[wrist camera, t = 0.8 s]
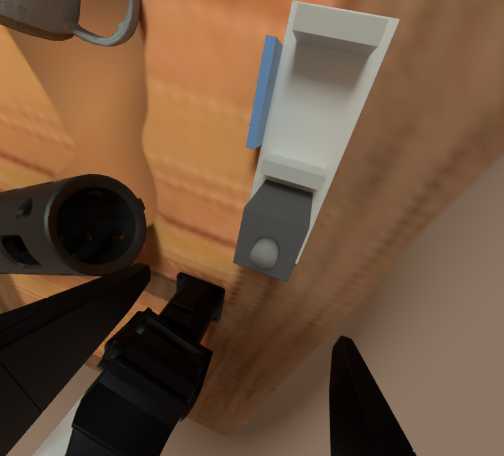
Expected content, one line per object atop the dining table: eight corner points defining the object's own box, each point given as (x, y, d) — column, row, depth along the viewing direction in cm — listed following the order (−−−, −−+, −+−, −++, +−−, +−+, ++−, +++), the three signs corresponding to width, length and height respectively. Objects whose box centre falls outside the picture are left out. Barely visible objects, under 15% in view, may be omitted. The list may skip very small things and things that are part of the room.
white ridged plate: (297, 259, 22) (294, 281, 19) (237, 238, 23) (225, 256, 20) (395, 24, 12) (416, 0, 10) (284, 4, 13) (274, -23, 10)
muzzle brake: (165, 238, 26) (87, 304, 17) (29, 245, 35) (-66, 290, 27) (130, 158, 22) (4, 191, 13) (-14, 190, 31) (-142, 221, 23)
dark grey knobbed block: (296, 237, 20) (284, 294, 14) (255, 224, 20) (226, 273, 14) (313, 193, 17) (308, 238, 11) (266, 179, 18) (237, 215, 12)
